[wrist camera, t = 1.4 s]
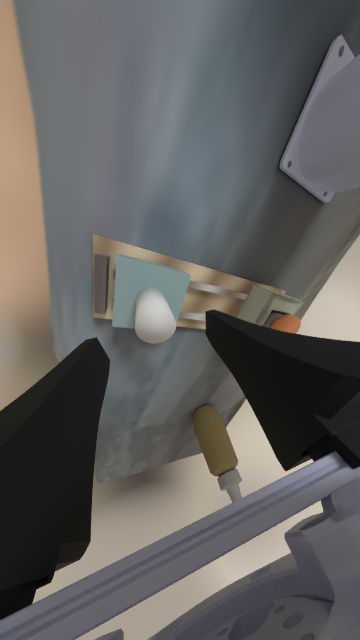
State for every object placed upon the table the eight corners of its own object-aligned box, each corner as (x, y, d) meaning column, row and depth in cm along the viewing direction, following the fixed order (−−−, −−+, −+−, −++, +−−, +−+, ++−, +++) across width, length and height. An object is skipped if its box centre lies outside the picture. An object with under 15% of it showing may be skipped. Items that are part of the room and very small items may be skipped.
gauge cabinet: (274, 291, 23) (304, 302, 19) (250, 331, 27) (271, 347, 23) (249, 283, 21) (275, 294, 17) (226, 328, 25) (244, 345, 21)
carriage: (183, 270, 16) (214, 291, 10) (169, 321, 19) (185, 362, 13) (120, 253, 14) (104, 266, 7) (115, 314, 17) (101, 361, 10)
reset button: (279, 306, 22) (306, 319, 18) (264, 329, 23) (286, 344, 20) (259, 301, 20) (285, 315, 17) (245, 326, 22) (266, 343, 18)
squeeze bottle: (209, 398, 36) (259, 508, 21) (219, 407, 41) (266, 504, 26) (184, 413, 37) (216, 531, 22) (197, 420, 41) (230, 522, 26)
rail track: (280, 289, 24) (294, 294, 21) (254, 331, 27) (263, 339, 25) (95, 234, 14) (87, 233, 11) (95, 313, 17) (89, 324, 15)
